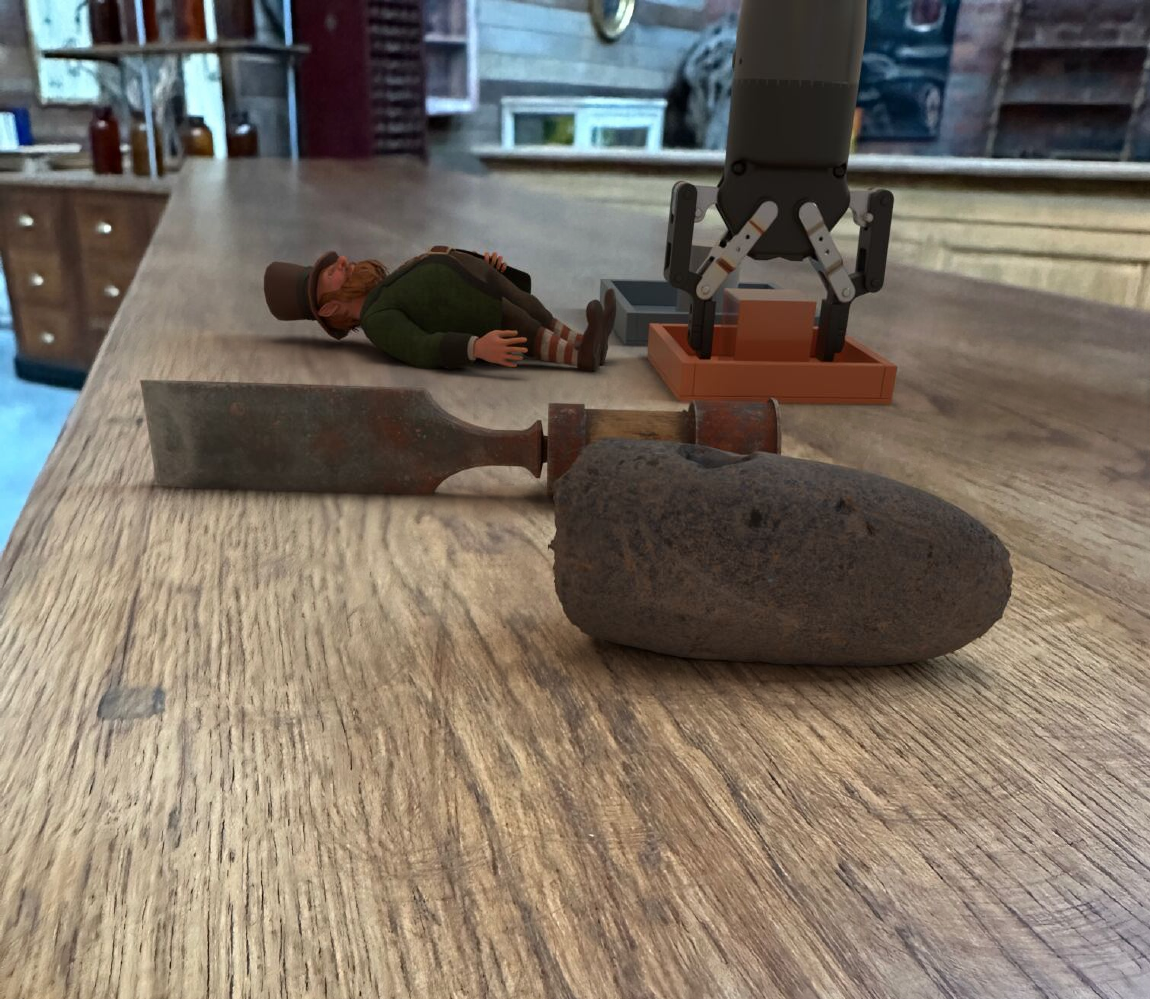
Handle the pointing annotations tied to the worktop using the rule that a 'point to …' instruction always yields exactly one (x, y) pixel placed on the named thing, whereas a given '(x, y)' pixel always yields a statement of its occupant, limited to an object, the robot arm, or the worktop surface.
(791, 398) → the terracotta tray
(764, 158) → the robot arm
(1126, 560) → the worktop surface
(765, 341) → the clay block
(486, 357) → the leprechaun
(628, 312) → the slate tray
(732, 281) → the stone cylinder
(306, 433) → the chisel
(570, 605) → the perforated stone tool
